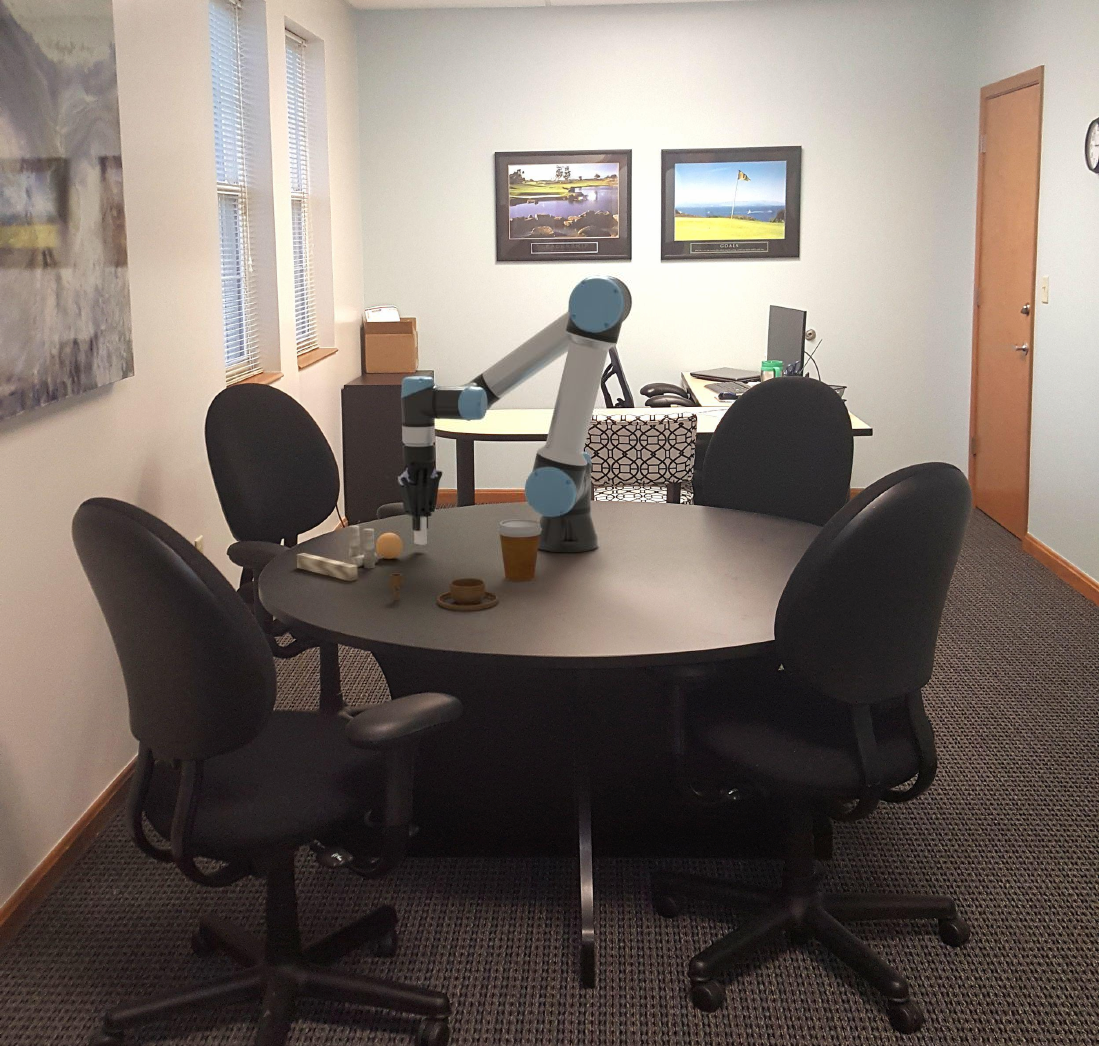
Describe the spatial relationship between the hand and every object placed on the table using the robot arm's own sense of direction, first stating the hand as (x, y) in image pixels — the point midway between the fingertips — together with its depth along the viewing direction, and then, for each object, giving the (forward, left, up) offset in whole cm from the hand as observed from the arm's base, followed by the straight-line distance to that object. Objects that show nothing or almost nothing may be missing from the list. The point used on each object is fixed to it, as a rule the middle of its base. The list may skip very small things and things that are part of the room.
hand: (420, 543), depth 279 cm
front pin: (0, +14, -1) cm, 14 cm away
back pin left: (-2, +18, -2) cm, 18 cm away
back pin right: (+2, +18, -2) cm, 18 cm away
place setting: (-35, +25, -3) cm, 43 cm away
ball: (0, +10, +1) cm, 10 cm away
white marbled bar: (0, +28, -2) cm, 28 cm away
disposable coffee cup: (-34, +3, -2) cm, 34 cm away
